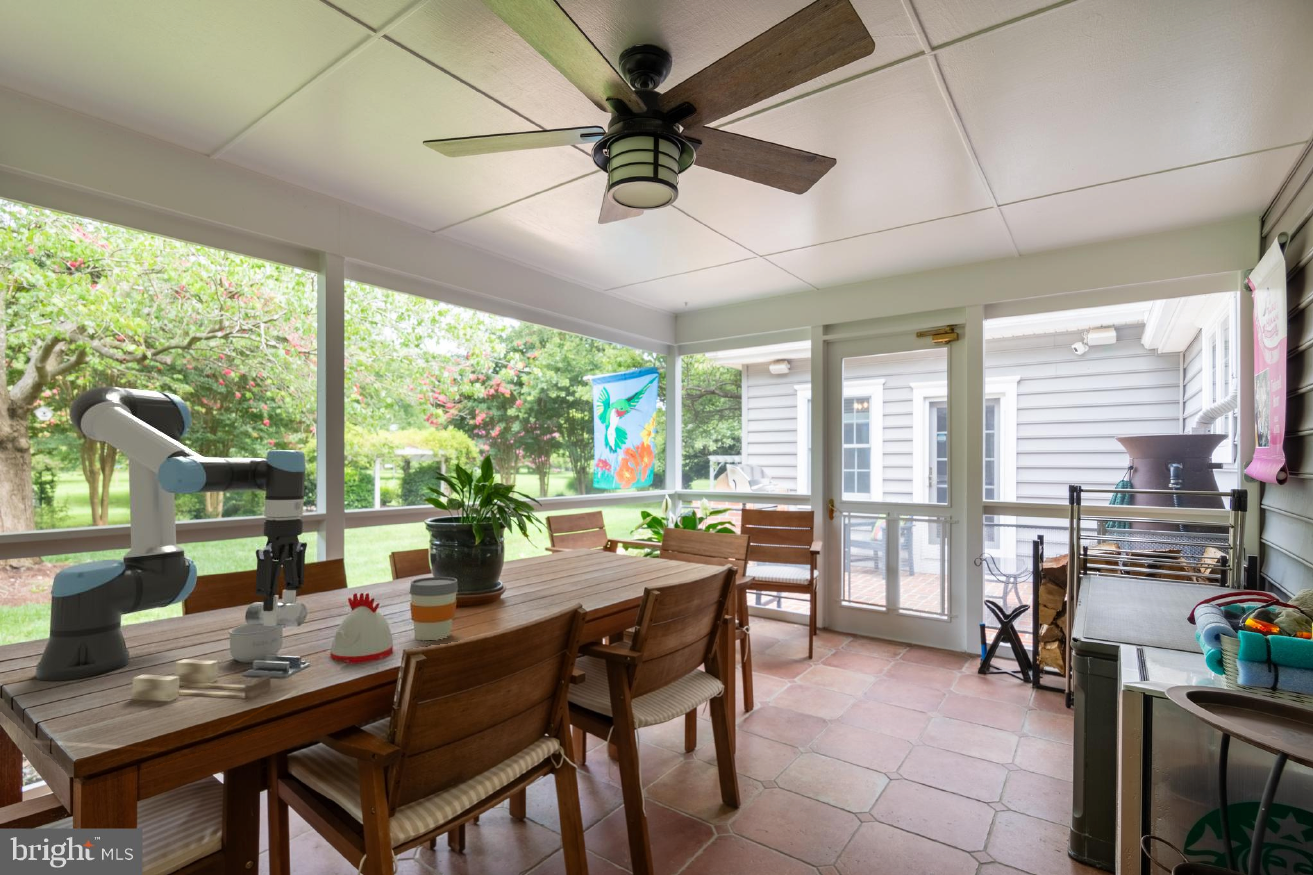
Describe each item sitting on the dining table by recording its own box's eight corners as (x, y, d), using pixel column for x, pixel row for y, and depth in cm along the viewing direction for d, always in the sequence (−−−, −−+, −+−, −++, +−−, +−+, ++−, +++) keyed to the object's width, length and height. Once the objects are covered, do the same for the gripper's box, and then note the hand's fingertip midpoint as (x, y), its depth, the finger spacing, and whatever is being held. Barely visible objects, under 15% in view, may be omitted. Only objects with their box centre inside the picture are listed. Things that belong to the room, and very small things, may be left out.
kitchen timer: (355, 644, 157) (358, 586, 158) (403, 647, 154) (406, 589, 155) (317, 661, 143) (319, 597, 144) (369, 665, 141) (371, 600, 141)
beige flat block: (131, 701, 118) (132, 678, 118) (182, 680, 129) (183, 659, 129) (239, 707, 116) (240, 683, 116) (281, 685, 127) (282, 664, 127)
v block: (242, 677, 131) (243, 663, 132) (269, 665, 139) (269, 652, 139) (285, 679, 130) (286, 665, 131) (309, 667, 138) (310, 654, 139)
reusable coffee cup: (448, 627, 174) (450, 575, 174) (463, 638, 164) (464, 582, 164) (402, 634, 166) (404, 579, 167) (415, 645, 156) (417, 587, 157)
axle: (244, 627, 133) (246, 604, 134) (260, 623, 138) (262, 600, 139) (291, 628, 132) (292, 605, 133) (306, 624, 137) (307, 601, 138)
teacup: (255, 669, 137) (256, 633, 137) (215, 665, 139) (217, 630, 139) (302, 650, 151) (304, 618, 151) (265, 647, 153) (267, 615, 153)
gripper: (270, 522, 127) (265, 633, 126) (324, 515, 145) (320, 612, 144) (237, 521, 128) (232, 632, 127) (295, 514, 146) (291, 611, 145)
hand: (279, 621), depth 135 cm, fingers closed on axle, 5 cm apart
